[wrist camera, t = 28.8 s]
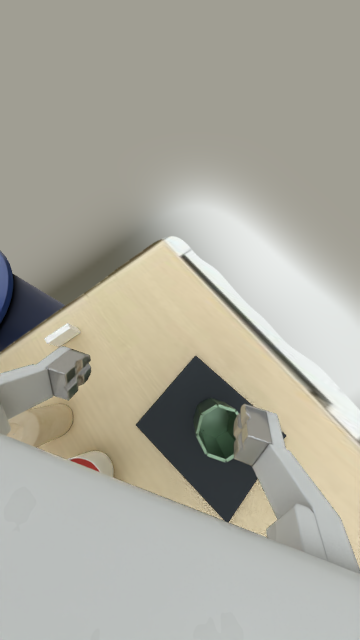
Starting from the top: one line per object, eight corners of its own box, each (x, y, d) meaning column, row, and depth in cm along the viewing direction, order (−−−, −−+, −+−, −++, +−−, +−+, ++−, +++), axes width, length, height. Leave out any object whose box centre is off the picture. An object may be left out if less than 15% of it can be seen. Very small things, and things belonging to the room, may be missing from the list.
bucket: (233, 404, 34) (225, 443, 32) (199, 393, 35) (190, 431, 33) (250, 414, 25) (241, 468, 23) (203, 399, 26) (191, 450, 24)
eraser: (80, 332, 39) (70, 328, 36) (59, 346, 39) (46, 343, 35) (78, 327, 40) (67, 322, 36) (56, 342, 39) (43, 338, 36)
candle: (69, 438, 34) (23, 462, 24) (39, 435, 34) (-18, 458, 25) (76, 404, 35) (35, 414, 26) (47, 402, 36) (-4, 410, 26)
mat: (136, 424, 34) (135, 425, 34) (195, 355, 37) (195, 355, 37) (226, 521, 30) (227, 523, 29) (284, 434, 33) (286, 435, 32)
